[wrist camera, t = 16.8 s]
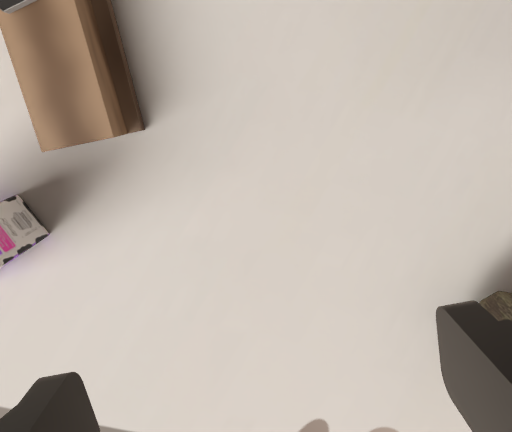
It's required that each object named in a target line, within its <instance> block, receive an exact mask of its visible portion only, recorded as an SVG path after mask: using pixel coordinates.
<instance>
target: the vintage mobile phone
mask: <svg viewBox="0 0 512 432" xmlns="http://www.w3.org/2000/svg"><path fill="white" fill-rule="evenodd" d="M35 1H37V0H0V10H2V11H3V12H5V13H8V14H10V13H12V12H14V11H16V10H18V9H20V8H22V7H25V6H27V5H29V4H31V3H33V2H35Z"/></svg>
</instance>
